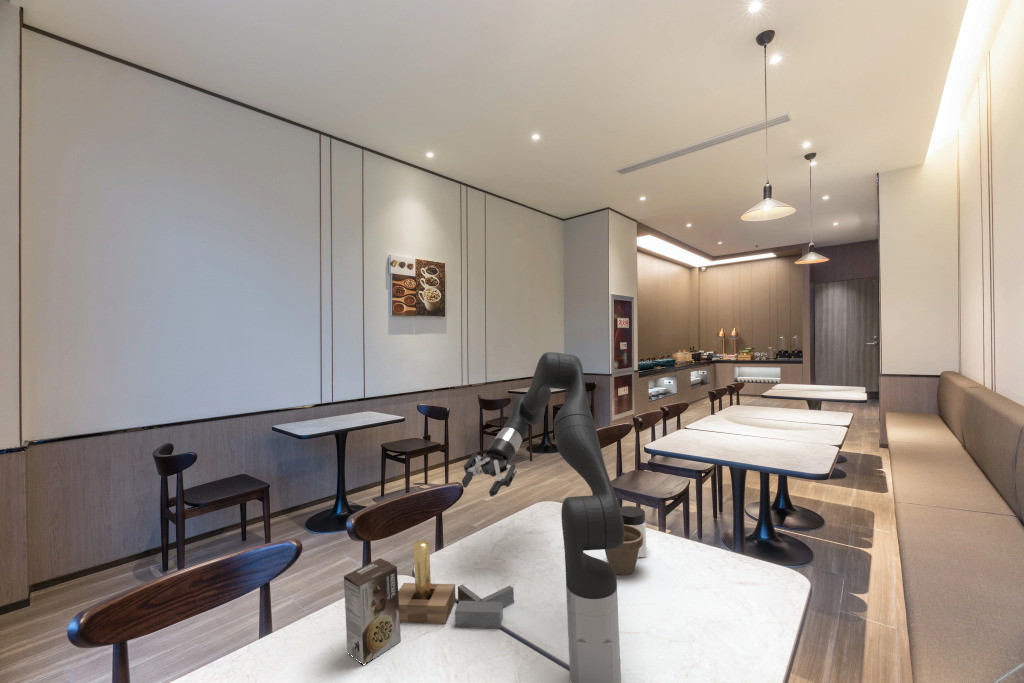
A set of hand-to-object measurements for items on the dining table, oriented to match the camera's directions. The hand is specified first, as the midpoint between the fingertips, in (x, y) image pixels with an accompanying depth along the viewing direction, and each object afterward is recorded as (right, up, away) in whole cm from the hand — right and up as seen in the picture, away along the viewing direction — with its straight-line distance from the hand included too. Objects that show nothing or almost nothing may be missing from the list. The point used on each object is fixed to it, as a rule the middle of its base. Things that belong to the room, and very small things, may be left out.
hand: (477, 490), depth 118 cm
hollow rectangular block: (-11, -24, -14) cm, 30 cm away
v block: (+3, -23, -16) cm, 28 cm away
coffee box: (-19, -24, -26) cm, 41 cm away
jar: (+44, -22, +10) cm, 51 cm away
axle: (-11, -24, -14) cm, 30 cm away
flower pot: (+39, -22, +1) cm, 45 cm away
